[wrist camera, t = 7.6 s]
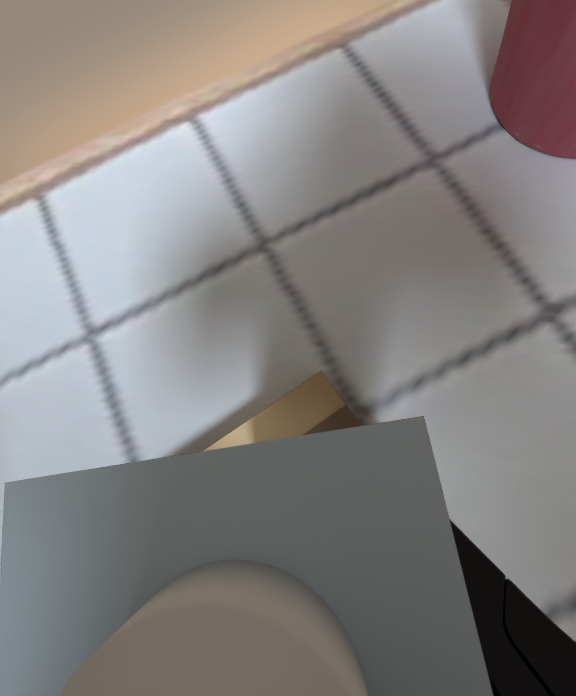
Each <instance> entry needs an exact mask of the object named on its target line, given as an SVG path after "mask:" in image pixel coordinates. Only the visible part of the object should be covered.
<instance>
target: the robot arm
mask: <svg viewBox="0 0 576 696" xmlns="http://www.w3.org/2000/svg"><path fill="white" fill-rule="evenodd" d="M449 520H450V519H449ZM450 524H451V528H452V532H453V536H454V540H455V544H456V548H457V552H458V556H459V560H460V564H461V568H462V572H463V576H464V580H465V584H466V588H467V592H468V596H469V600H470V604H471V608H472V612H473V616H474V620H475V624H476V628H477V632H478V636H479V640H480V644H481V648H482V653H483V657H484V661H485V665H486V669H487V673H488V677H489V681H490V685H491V689H492V693H493V696H576V642H575V641H574V640H573V639H571V638H570V637H569V636H568V635H567V634H566V633H565V632H564V631H562V630H561V629H560V628H559V627H558V626H557V625H556V624H555V623H554V622H553V621H552V620H550V619H549V618H548V617H547V616H546V615H545V614H544V613H543V612H542V611H541V610H540V609H539V608H538V607H537V606H536V605H535V604H534V603H533V602H532V601H531V600H530V599H529V598H528V597H527V596H526V595H525V594H524V593H523V592H522V591H521V590H520V589H519V588H518V587H517V586H516V585H515V584H514V583H513V582H512V581H511V580H510V579H506V577H505V575H504V573H503V572H502V571H501V570H500V569H499V568H498V567H497V566H496V565H495V564H494V563H493V562H492V561H491V560H490V559H489V558H488V557H487V556H486V555H485V554H484V553H483V552H482V551H481V550H480V549H479V548H478V547H477V546H476V545H475V544H474V543H473V542H472V541H471V540H470V539H469V538H468V537H467V536H466V535H465V534H464V533H463V532H462V531H461V530H460V529H459V528H458V527H457V526H456V525H455V524H454V523H453V522H452V521H451V520H450ZM505 579H506V580H505Z"/></svg>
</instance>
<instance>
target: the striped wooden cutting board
mask: <svg viewBox="0 0 576 696" xmlns="http://www.w3.org/2000/svg"><path fill="white" fill-rule="evenodd" d="M358 426H361V425H360V424H359V422H358V421H357V420H356V418H355V417H354V415H353V414H352V413H351V411H350V410H349V408H348V407H347V406H346V405H345V403H344V402H343V400H342V399H341V398H340V396H339V395H338V393H337V392H336V391H335V389H334V388H333V386H332V385H331V384H330V382H329V381H328V379H327V378H326V377H325V375H324V374H323V372H322V371H320V372H319V373H317V374H316V375H314V376H313V377H311V378H310V379H308V380H307V381H305V382H304V383H302V384H301V385H300V386H298V387H297V388H295V389H294V390H292V391H291V392H289V393H288V394H286V395H285V396H283V397H282V398H280V399H279V400H277V401H276V402H274V403H273V404H272V405H270V406H269V407H267V408H266V409H264V410H263V411H261V412H260V413H258V414H257V415H255V416H254V417H252V418H251V419H249V420H248V421H246V422H245V423H244V424H242V425H241V426H239V427H238V428H236V429H235V430H233V431H232V432H230V433H229V434H227V435H226V436H224V437H223V438H221V439H220V440H219V441H217V442H216V443H214V444H213V445H211V446H210V447H208V448H207V449H205V450H204V451H208V450H214V449H220V448H227V447H233V446H239V445H245V444H252V443H258V442H264V441H270V440H277V439H283V438H289V437H296V436H302V435H308V434H314V433H321V432H327V431H333V430H339V429H346V428H352V427H358Z"/></svg>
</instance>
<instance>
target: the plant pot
mask: <svg viewBox="0 0 576 696" xmlns="http://www.w3.org/2000/svg"><path fill="white" fill-rule="evenodd" d="M490 97H491V103H492V107H493V110H494V112H495V114H496V116H497V118H498V119H499V121H500V123H501V124H502V125H503V126H504V128H505V129H506V130H507V131H508V132H509V133H510V134H511V135H512V136H513V137H515V138H516V139H517V140H518V141H520V142H521V143H523V144H525V145H526V146H528V147H530V148H533V149H535V150H537V151H539V152H542V153H545V154H548V155H552V156H556V157H561V158H571V159H576V0H512V2H511V7H510V11H509V15H508V19H507V23H506V27H505V31H504V35H503V39H502V43H501V47H500V51H499V54H498V58H497V62H496V65H495V69H494V72H493V76H492V80H491V87H490Z"/></svg>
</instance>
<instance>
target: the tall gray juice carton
mask: <svg viewBox="0 0 576 696" xmlns="http://www.w3.org/2000/svg"><path fill="white" fill-rule="evenodd" d="M0 696H493V693H492V689H491V685H490V681H489V677H488V673H487V669H486V665H485V661H484V657H483V653H482V648H481V644H480V640H479V636H478V632H477V628H476V624H475V620H474V616H473V612H472V608H471V604H470V600H469V596H468V592H467V588H466V584H465V580H464V576H463V572H462V568H461V564H460V560H459V556H458V552H457V548H456V544H455V540H454V536H453V532H452V528H451V524H450V520H449V516H448V511H447V507H446V503H445V499H444V495H443V491H442V487H441V483H440V479H439V475H438V471H437V467H436V463H435V459H434V455H433V451H432V447H431V443H430V439H429V435H428V431H427V427H426V423H425V419H424V416H421V417H415V418H408V419H402V420H396V421H390V422H383V423H377V424H371V425H365V426H358V427H352V428H346V429H339V430H333V431H327V432H321V433H314V434H308V435H302V436H296V437H289V438H283V439H277V440H270V441H264V442H258V443H252V444H245V445H239V446H233V447H227V448H220V449H214V450H208V451H201V452H195V453H189V454H183V455H176V456H170V457H164V458H158V459H151V460H145V461H139V462H132V463H126V464H120V465H114V466H107V467H101V468H95V469H88V470H82V471H76V472H70V473H63V474H57V475H51V476H45V477H38V478H32V479H26V480H19V481H13V482H7V483H5V489H4V510H3V530H2V550H1V571H0Z"/></svg>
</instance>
